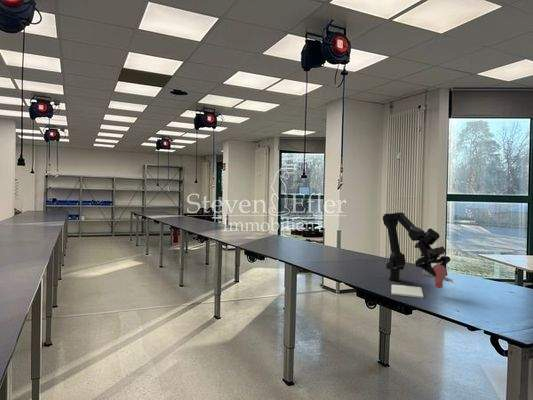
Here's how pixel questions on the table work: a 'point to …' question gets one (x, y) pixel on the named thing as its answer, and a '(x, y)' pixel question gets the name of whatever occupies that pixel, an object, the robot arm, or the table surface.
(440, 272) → the light bulb
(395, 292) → the mat
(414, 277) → the table surface
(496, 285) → the table surface
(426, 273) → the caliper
